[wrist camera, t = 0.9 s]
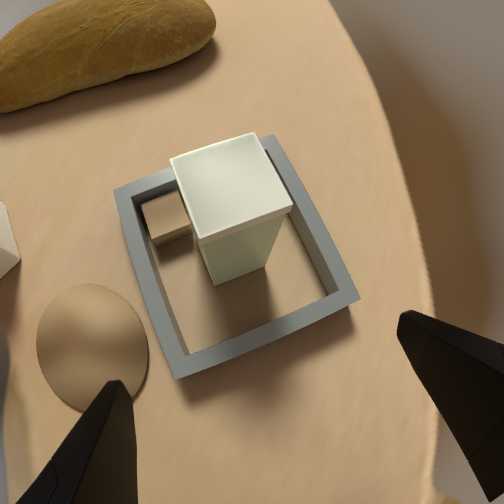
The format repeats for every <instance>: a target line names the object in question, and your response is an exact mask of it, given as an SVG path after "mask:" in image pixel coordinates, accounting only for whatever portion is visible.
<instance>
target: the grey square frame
mask: <svg viewBox="0 0 504 504" xmlns="http://www.w3.org/2000/svg"><path fill="white" fill-rule="evenodd" d="M258 140H259V142H260V144H261V145H262V147H263V149H264V151H265V153H266V154H267V156H268V158H269V160H270V162H271V163H272V165H273V167H274V169H275V171H276V173H277V174H278V176H279V178H280V180H281V182H282V184H283V186H284V187H285V189H286V191H287V193H288V195H289V197H290V199H291V201H292V203H293V206H292V208H291V211H290V212H288V214H289V216H290V218H291V220H292V222H293V224H294V226H295V228H296V230H297V232H298V234H299V236H300V238H301V240H302V242H303V244H304V246H305V248H306V250H307V252H308V254H309V256H310V259H311V261H312V263H313V265H314V267H315V269H316V271H317V273H318V275H319V277H320V279H321V282H322V284H323V286H324V288H325V290H326V292H327V294H328V296H326V297H324V298H322V299H320V300H318V301H316V302H314V303H311V304H309V305H307V306H305V307H303V308H301V309H298V310H296V311H294V312H292V313H290V314H287V315H285V316H283V317H281V318H278V319H276V320H274V321H271V322H269V323H267V324H265V325H262V326H260V327H258V328H255V329H253V330H250V331H248V332H246V333H243V334H241V335H238V336H236V337H234V338H231V339H229V340H226V341H224V342H221V343H219V344H216V345H214V346H211V347H209V348H206V349H203V350H201V351H198V352H196V353H193V354H189V351H188V349H187V346H186V344H185V341H184V339H183V336H182V334H181V331H180V329H179V326H178V324H177V321H176V318H175V316H174V313H173V311H172V308H171V305H170V303H169V300H168V297H167V294H166V292H165V289H164V286H163V283H162V280H161V277H160V274H159V272H158V269H157V266H156V263H155V260H154V257H153V254H152V251H151V247H150V244H149V241H148V238H147V235H146V232H145V228H144V225H143V222H142V218H141V215H140V210H142V207H141V204H143V203H146V202H148V201H151V200H153V199H156V198H158V197H161V196H163V195H166V194H168V193H171V192H173V191H176V190H178V192H179V195H181V191H180V189H179V186H178V183H177V180H176V178H175V175H174V172H173V169H172V167H170V168H167V169H164V170H162V171H159V172H157V173H154V174H151V175H149V176H146V177H144V178H141V179H139V180H136V181H134V182H131V183H129V184H126V185H124V186H122V187H119V188H117V189H115V190H113V191H114V195H115V200H116V204H117V208H118V212H119V216H120V220H121V224H122V227H123V231H124V235H125V239H126V242H127V246H128V249H129V253H130V256H131V259H132V263H133V266H134V269H135V273H136V276H137V279H138V282H139V285H140V288H141V291H142V294H143V297H144V300H145V303H146V306H147V309H148V312H149V315H150V317H151V320H152V323H153V326H154V328H155V331H156V334H157V336H158V339H159V342H160V344H161V347H162V349H163V352H164V354H165V357H166V359H167V362H168V364H169V367H170V369H171V371H172V374H173V376H174V378H175V380H177V379H180V378H183V377H185V376H188V375H191V374H193V373H196V372H199V371H201V370H204V369H207V368H209V367H212V366H215V365H217V364H220V363H222V362H225V361H227V360H230V359H232V358H235V357H237V356H240V355H242V354H244V353H247V352H249V351H252V350H254V349H256V348H259V347H261V346H263V345H266V344H268V343H270V342H272V341H275V340H277V339H279V338H281V337H284V336H286V335H288V334H290V333H292V332H295V331H297V330H299V329H301V328H303V327H305V326H307V325H310V324H312V323H314V322H316V321H318V320H320V319H322V318H324V317H326V316H328V315H330V314H332V313H334V312H336V311H338V310H340V309H342V308H344V307H346V306H348V305H350V304H352V303H354V302H356V301H358V300H360V299H361V298H360V296H359V293H358V291H357V289H356V287H355V285H354V283H353V281H352V279H351V276H350V274H349V272H348V270H347V268H346V266H345V264H344V262H343V260H342V258H341V256H340V254H339V252H338V250H337V248H336V246H335V244H334V242H333V240H332V238H331V236H330V234H329V232H328V230H327V228H326V226H325V224H324V223H323V221H322V219H321V217H320V215H319V213H318V211H317V209H316V207H315V206H314V204H313V202H312V200H311V198H310V196H309V195H308V193H307V191H306V189H305V187H304V185H303V184H302V182H301V180H300V178H299V177H298V175H297V173H296V171H295V170H294V168H293V166H292V164H291V163H290V161H289V159H288V157H287V156H286V154H285V152H284V151H283V149H282V147H281V145H280V144H279V142H278V140H277V139H276V137H275V135H274V134H273V135H270V136H266V137H262V138H259V139H258Z"/></svg>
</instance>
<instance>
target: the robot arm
mask: <svg viewBox="0 0 504 504" xmlns="http://www.w3.org/2000/svg"><path fill="white" fill-rule="evenodd" d="M397 337H398V340H399V342H400V344H401V346H402V347H403V349H404V351H405V353H406V355H407V357H408V359H409V361H410V363H411V365H412V367H413V369H414V371H415V373H416V374H417V376H418V378H419V379H420V381H421V383H422V384H423V386H424V387H425V389H426V390H427V392H428V394H429V395H430V397H431V399H432V400H433V402H434V403H435V405H436V407H437V408H438V410H439V412H440V413H441V415H442V417H443V418H444V420H445V421H446V423H447V425H448V427H449V428H450V430H451V432H452V434H453V435H454V437H455V439H456V440H457V442H458V444H459V446H460V448H461V449H462V451H463V453H464V455H465V457H466V459H467V460H468V463H469V464H470V466H471V468H472V470H473V472H474V474H475V476H476V478H477V479H478V481H479V483H480V485H481V487H482V489H483V491H484V493H485V495H486V497H487V499H488V501H489V502H492V501H493V500H495V499H496V498H497V497H499V496H500V495H502V494H503V493H504V344H501V343H497V342H495V341H493V340H490V339H488V338H485V337H482V336H480V335H477V334H475V333H472V332H469V331H467V330H464V329H461V328H459V327H456V326H453V325H451V324H448V323H445V322H443V321H440V320H438V319H435V318H432V317H430V316H427V315H424V314H422V313H419V312H416V311H414V310H408V311H406V312H403V313H401V315H400V317H399V322H398V327H397ZM16 504H138V491H137V443H136V433H135V423H134V412H133V401H132V397H131V395H130V394H129V392H128V390H127V389H126V387H125V385H124V384H123V382H122V381H121V380H119V379H117V380H109V381H107V382H106V384H105V385H104V386H103V388H102V389H101V390H100V392H99V393H98V394H97V396H96V397H95V398H94V400H93V401H92V402H91V404H90V405H89V406H88V408H87V409H86V411H85V412H84V413H83V415H82V416H81V417H80V419H79V420H78V421H77V423H76V424H75V426H74V427H73V428H72V430H71V431H70V432H69V434H68V435H67V437H66V438H65V439H64V441H63V442H62V444H61V445H60V446H59V448H58V449H57V451H56V452H55V453H54V455H53V456H52V458H51V460H49V462H48V463H47V465H46V466H45V468H44V469H43V470H42V472H41V473H40V474H39V476H38V477H37V479H36V480H35V481H34V482H33V483H32V485H31V486H30V487H29V488H28V490H27V491H26V492H25V493H24V494H23V495H22V497H21V498H20V499H19V500H18V501H17V502H16Z"/></svg>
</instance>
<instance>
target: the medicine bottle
mask: <svg viewBox="0 0 504 504" xmlns="http://www.w3.org/2000/svg"><path fill="white" fill-rule="evenodd" d="M19 261H20V254H19V251H18V248H17V245H16V242H15V238H14V235H13V232H12V228H11V224H10V221H9V217H8V213H7V209H6V206H5V204H3V203H2V202H1V201H0V279H1V278H2V277H3V276H4V275H5V274H6V273H7V272H8V271H9V270H10V269H11V268H13V267H14V266H15V265H16V264H17V263H18V262H19Z"/></svg>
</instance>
